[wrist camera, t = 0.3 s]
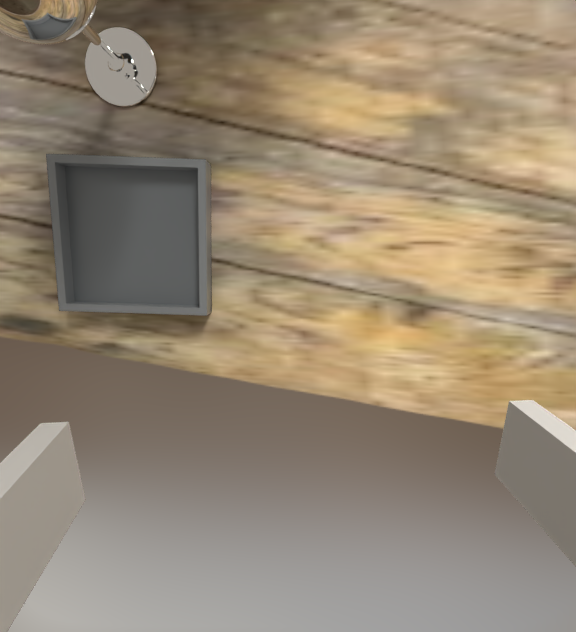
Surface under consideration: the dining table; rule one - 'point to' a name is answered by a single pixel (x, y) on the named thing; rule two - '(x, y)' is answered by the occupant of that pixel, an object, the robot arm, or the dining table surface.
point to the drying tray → (131, 233)
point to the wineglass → (103, 52)
